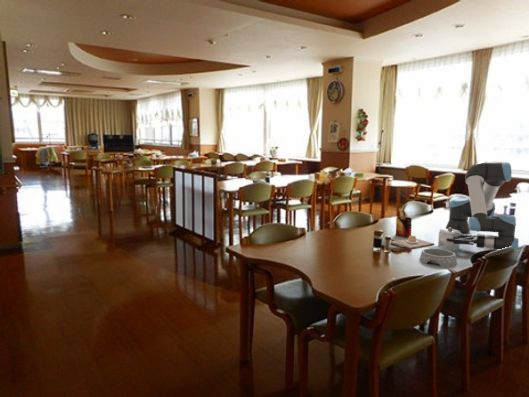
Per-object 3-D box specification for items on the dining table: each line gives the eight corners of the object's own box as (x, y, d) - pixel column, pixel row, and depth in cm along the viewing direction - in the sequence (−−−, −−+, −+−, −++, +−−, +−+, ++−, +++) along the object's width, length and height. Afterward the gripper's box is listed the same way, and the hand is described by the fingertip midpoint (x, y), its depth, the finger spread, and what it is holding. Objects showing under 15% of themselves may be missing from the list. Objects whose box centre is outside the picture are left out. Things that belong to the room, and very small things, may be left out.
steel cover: (440, 245, 231) (441, 224, 229) (460, 248, 225) (461, 226, 223) (437, 249, 222) (438, 228, 220) (458, 252, 216) (459, 230, 214)
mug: (410, 239, 248) (410, 221, 246) (392, 235, 260) (393, 217, 258) (419, 237, 253) (420, 219, 252) (401, 233, 265) (402, 216, 263)
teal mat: (445, 244, 234) (446, 244, 234) (470, 251, 220) (470, 250, 220) (427, 248, 227) (427, 247, 227) (451, 255, 213) (451, 254, 213)
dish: (411, 240, 239) (412, 233, 238) (420, 243, 233) (421, 235, 232) (403, 241, 236) (403, 234, 235) (412, 244, 230) (413, 236, 229)
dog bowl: (425, 255, 214) (425, 245, 214) (460, 261, 203) (461, 251, 202) (414, 262, 201) (415, 252, 200) (452, 269, 190) (453, 259, 189)
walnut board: (413, 240, 246) (413, 237, 246) (434, 245, 232) (434, 243, 232) (390, 243, 237) (390, 241, 237) (410, 250, 223) (410, 247, 223)
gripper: (483, 253, 203) (438, 247, 215) (485, 243, 223) (444, 238, 235) (484, 239, 202) (439, 234, 214) (486, 230, 222) (445, 226, 234)
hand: (442, 236), depth 224 cm, fingers closed on steel cover, 11 cm apart
